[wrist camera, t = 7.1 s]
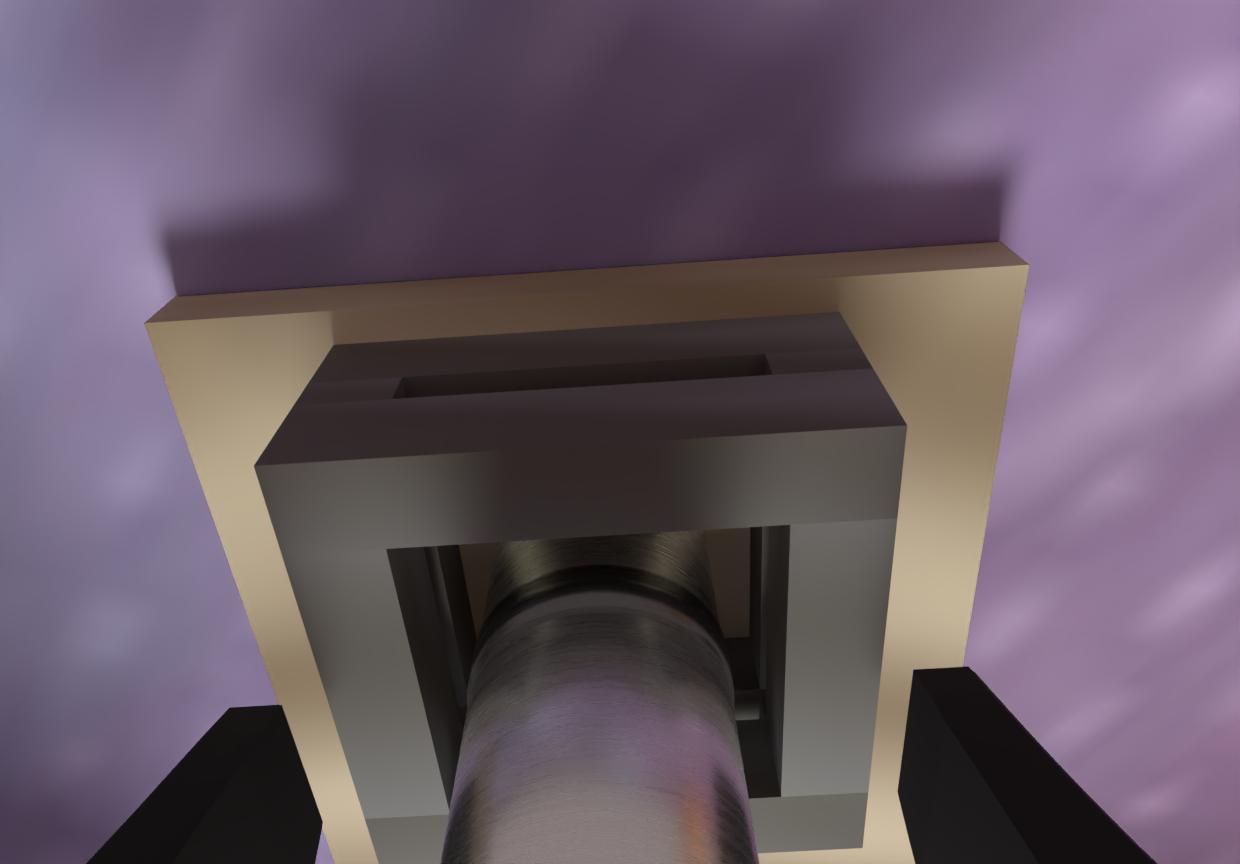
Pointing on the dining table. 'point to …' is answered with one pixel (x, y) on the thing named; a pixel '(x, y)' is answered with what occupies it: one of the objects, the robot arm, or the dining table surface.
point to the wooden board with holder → (607, 500)
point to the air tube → (601, 711)
